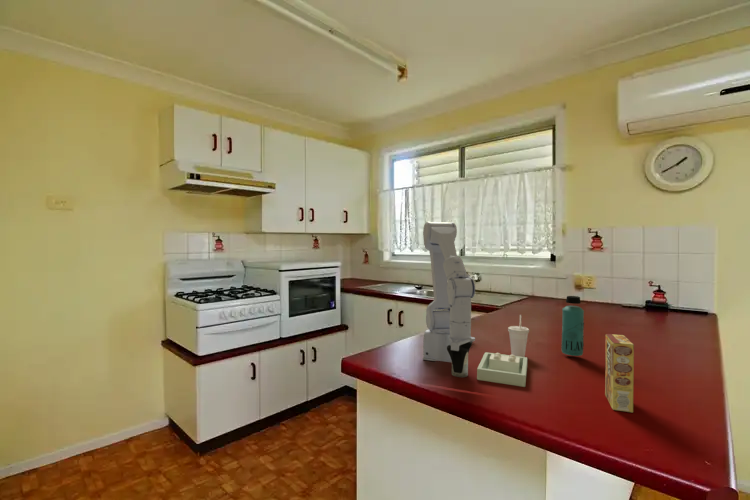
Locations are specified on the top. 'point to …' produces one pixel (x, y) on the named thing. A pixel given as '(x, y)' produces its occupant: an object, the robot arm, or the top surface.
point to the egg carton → (504, 363)
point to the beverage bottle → (572, 328)
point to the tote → (502, 372)
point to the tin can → (465, 368)
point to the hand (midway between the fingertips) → (459, 369)
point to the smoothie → (518, 339)
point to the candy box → (619, 372)
